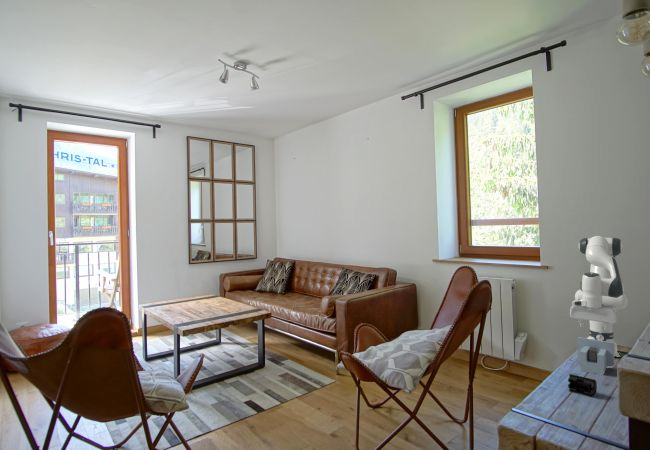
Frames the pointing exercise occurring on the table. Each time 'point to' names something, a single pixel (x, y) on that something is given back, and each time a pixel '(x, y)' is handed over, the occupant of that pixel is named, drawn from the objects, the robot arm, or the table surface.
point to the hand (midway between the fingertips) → (592, 328)
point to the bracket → (593, 354)
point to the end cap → (582, 385)
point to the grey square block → (603, 356)
